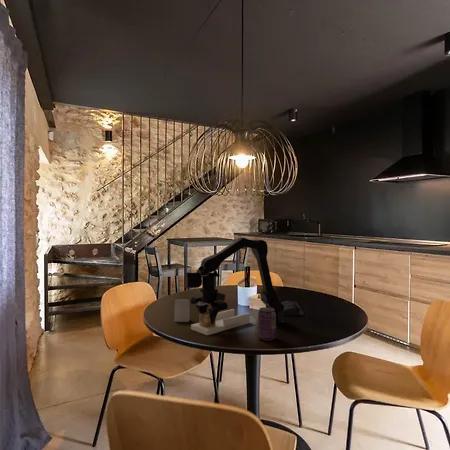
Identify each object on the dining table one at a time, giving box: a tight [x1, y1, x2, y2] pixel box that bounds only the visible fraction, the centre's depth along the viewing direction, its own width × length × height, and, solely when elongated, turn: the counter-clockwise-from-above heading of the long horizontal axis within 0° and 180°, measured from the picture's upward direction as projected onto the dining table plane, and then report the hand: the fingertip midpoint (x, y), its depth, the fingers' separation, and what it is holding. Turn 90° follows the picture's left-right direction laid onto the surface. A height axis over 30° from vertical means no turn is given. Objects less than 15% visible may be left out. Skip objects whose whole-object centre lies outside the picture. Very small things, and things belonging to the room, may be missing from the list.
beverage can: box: [257, 306, 277, 342], centre depth 138 cm, size 7×7×12 cm
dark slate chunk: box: [280, 300, 305, 317], centre depth 183 cm, size 15×22×5 cm
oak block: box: [198, 311, 215, 328], centre depth 149 cm, size 5×5×5 cm
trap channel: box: [190, 308, 251, 336], centre depth 155 cm, size 11×26×4 cm, turn 133°
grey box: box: [173, 299, 190, 323], centre depth 163 cm, size 4×7×10 cm, turn 90°
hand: (208, 322), depth 150 cm, fingers closed on oak block, 5 cm apart
